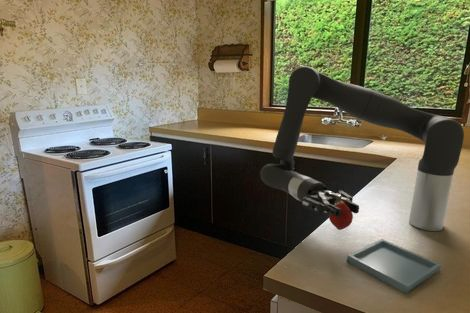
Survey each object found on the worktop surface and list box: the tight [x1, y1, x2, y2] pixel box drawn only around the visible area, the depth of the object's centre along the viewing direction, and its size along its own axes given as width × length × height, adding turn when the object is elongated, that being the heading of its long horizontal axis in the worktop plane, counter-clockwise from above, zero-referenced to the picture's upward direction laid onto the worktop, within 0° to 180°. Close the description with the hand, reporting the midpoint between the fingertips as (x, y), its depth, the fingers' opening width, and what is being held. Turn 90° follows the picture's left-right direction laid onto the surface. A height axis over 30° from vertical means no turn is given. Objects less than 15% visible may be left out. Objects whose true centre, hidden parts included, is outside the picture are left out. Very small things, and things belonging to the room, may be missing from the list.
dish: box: [346, 239, 442, 295], centre depth 82 cm, size 15×15×2 cm
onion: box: [328, 201, 354, 231], centre depth 88 cm, size 6×6×8 cm
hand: (348, 211), depth 85 cm, fingers closed on onion, 5 cm apart
